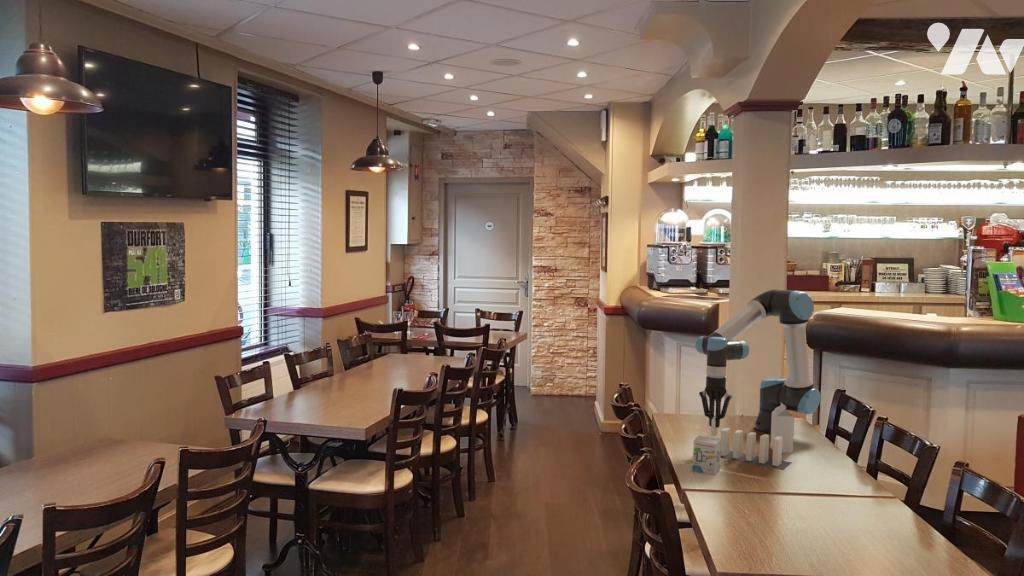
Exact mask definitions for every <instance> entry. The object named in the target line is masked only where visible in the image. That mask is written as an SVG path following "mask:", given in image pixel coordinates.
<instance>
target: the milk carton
mask: <svg viewBox="0 0 1024 576" xmlns="http://www.w3.org/2000/svg"><path fill="white" fill-rule="evenodd" d="M794 432H795V416H794V415H793V414H792V413H791V411H789V410H786V406H785V405H784V404H782V403H781V405H780V406H779V407H777V408H775V410H774V411H773V412H772V420H771V433H770V442H769V444H770V445H769V446H770V448H769V449H771V450H772V451H773V439H774V438H776V437H777V436H779V437H783V439H782V453H785V454H787V453H789V454H793V453H794V434H795V433H794Z"/></svg>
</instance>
